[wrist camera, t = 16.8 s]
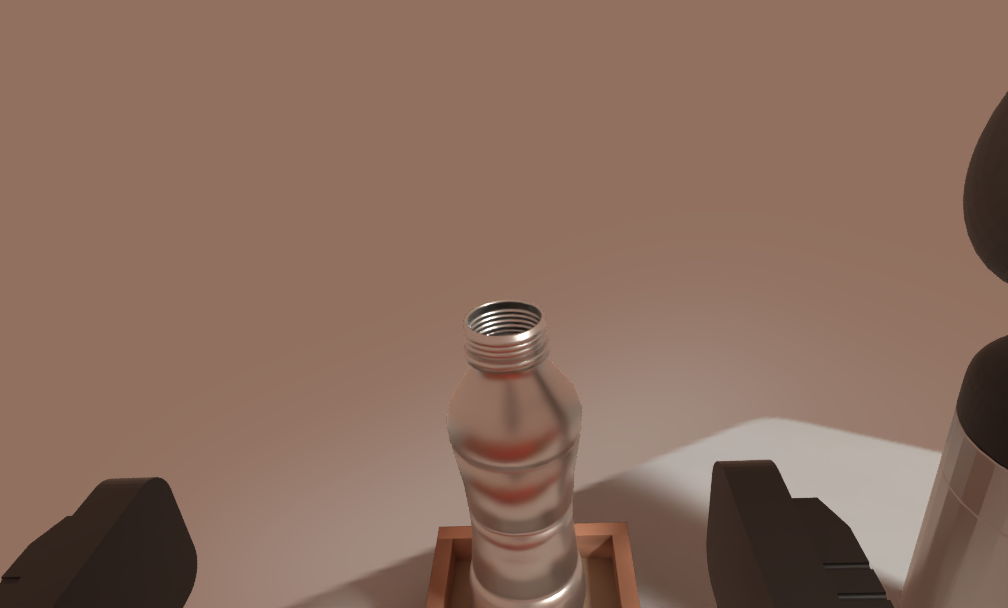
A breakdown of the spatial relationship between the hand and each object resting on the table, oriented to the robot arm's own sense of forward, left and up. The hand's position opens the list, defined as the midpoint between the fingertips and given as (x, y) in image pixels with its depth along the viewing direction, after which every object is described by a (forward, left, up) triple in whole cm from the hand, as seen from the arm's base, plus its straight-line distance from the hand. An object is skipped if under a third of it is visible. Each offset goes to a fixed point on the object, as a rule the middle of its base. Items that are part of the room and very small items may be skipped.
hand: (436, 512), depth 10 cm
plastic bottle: (0, -19, -27) cm, 33 cm away
